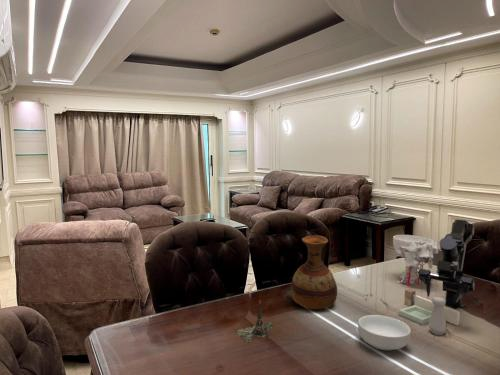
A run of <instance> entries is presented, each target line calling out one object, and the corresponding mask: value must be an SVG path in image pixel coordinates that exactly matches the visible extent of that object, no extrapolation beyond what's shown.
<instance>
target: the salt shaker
mask: <svg viewBox="0 0 500 375" xmlns="http://www.w3.org/2000/svg"><path fill="white" fill-rule="evenodd" d="M431 301H432V303H433V304H434V307H433V311H432V314H431V318H430V321H429V323H428V328H429V330H430V333H431V334H434V335H435V336H443V335H444V334H445V333H446V331H447V327H448V326H447V321H446V320H445V313H444V306H446V305H445V304H446V298H444V297H441V296H433V298H432V299H431Z"/></svg>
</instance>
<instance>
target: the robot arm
mask: <svg viewBox="0 0 500 375" xmlns="http://www.w3.org/2000/svg"><path fill="white" fill-rule="evenodd" d="M474 234H475V226H474V225H473V224H472V223H470V222H469V221H468V220H466V219H454V221H453V222H452V225H451V231H450V233H447V234H446V235H445V236H444V237H443V238H441V239H440V240H439V244H438V245H439V249H440V254H441V260H437V266H436V273H437V274H435V273H432V271H431V269H425V268H423V269H422V268H421V269H420V268H419V269H420V270H419V269H418V273H417V274H418V276H419V279H420V280H419V282H422V284H424V285H425V288H426V295H427V296H426V297H428V298H429V297H430V294H431V288H432V280H435V281H440V282H442V291H445V301H446V304H445V306H446V307H448V308H451V309H454V310H457V309H461V308H465V307H466V305H465V304H463V302H462V300H463V296H465V295H468V294H469V293H470V292H471V293H473V292H474V290H475V279H474V278H473V277H470V276H465V275H464V272H463V267H464V260H465V256H466V255H465V254H466V249H467V244H468V243H470V242H471V241H472V238H473V236H474Z"/></svg>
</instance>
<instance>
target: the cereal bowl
mask: <svg viewBox="0 0 500 375" xmlns="http://www.w3.org/2000/svg"><path fill="white" fill-rule="evenodd" d="M357 328H358V333H359V335H360V337H361V338H362V340H363V341H365V342H366V343H367V344H368V345H370V346H372V347H373V348H376V349H378V350H381V351H393V350H400V349H402V348H404V347H406V346H408V345H407V344H408V343H409V342H410V339H411V334H412V333H411V327H410V326H409V325H407V323H406V322H403V321H402V320H399V319H397V318H394V317H392V316H391V317H390V316H387V315H381V314H369V315H363V316H362V317H359V319H358V322H357Z"/></svg>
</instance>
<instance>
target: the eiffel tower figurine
mask: <svg viewBox="0 0 500 375" xmlns="http://www.w3.org/2000/svg"><path fill="white" fill-rule="evenodd" d="M258 303H259V304H258V313H257V318H256V323H255V325H251V326H248V327H243V328H240V329H237V330H236V333H237V335H238V336H240V338H242V339H243V340H244V341H245V342H246V343H248V342H253V340H252V337H258V338H266V337H269V336H270V335H269V331H270V329H273V327H274V324H272V323H271V322H265V323H264V322H263V317H262V304H261V303H262V300H259V301H258Z"/></svg>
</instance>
